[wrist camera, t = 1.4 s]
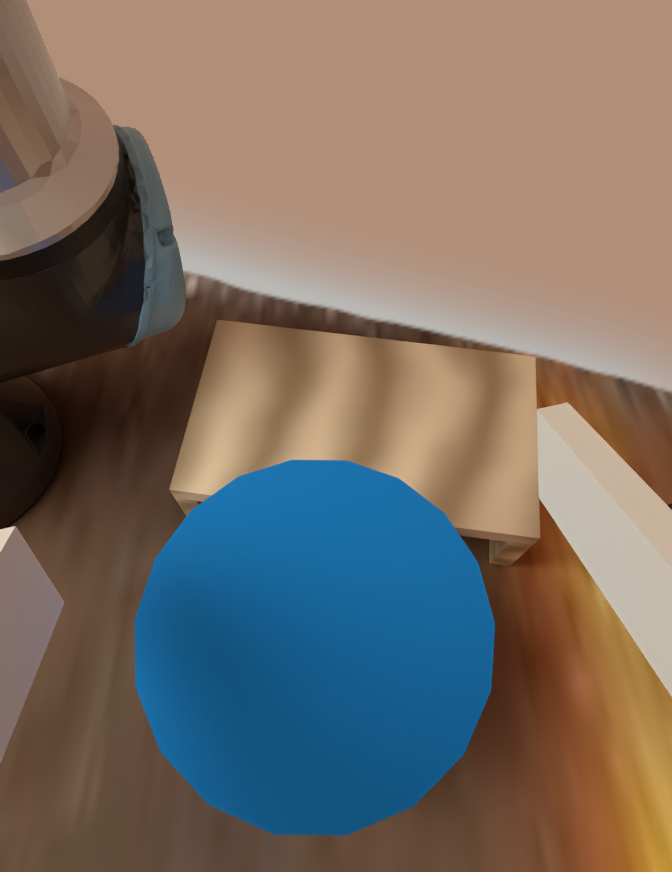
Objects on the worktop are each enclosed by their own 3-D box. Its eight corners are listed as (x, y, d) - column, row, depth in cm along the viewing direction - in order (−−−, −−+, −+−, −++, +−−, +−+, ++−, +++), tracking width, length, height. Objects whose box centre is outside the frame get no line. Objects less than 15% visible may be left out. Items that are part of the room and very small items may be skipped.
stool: (191, 523, 44) (169, 489, 38) (231, 370, 50) (217, 319, 44) (509, 566, 43) (540, 538, 37) (509, 403, 49) (535, 356, 43)
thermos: (236, 615, 41) (127, 477, 19) (384, 590, 42) (447, 431, 20) (251, 792, 36) (128, 890, 14) (418, 759, 37) (553, 803, 15)
